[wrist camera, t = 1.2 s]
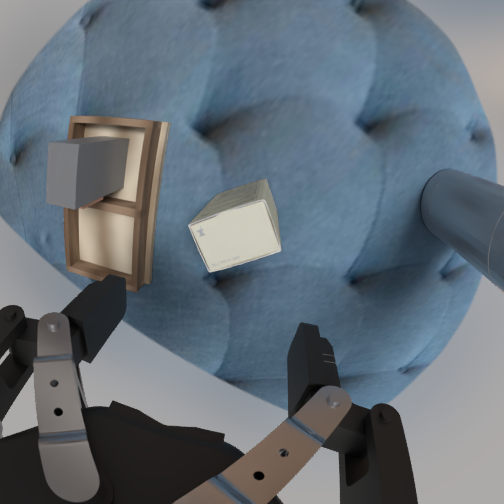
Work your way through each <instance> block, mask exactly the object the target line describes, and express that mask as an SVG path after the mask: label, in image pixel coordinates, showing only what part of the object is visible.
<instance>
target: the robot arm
mask: <svg viewBox="0 0 504 504" xmlns="http://www.w3.org/2000/svg"><path fill="white" fill-rule="evenodd" d="M421 214H422V218H423V221H424V224H425V225H426V227H427V229H428V230H429V231H430V232H431V233H432V234H434V235H435V236H436V237H438V238H439V239H440V240H442V241H443V242H444V243H445V244H447V245H448V246H449V247H450V248H452V249H453V250H454V251H455V252H457V253H458V254H459V255H460V256H462V257H463V258H464V259H465V260H466V261H468V262H469V263H470V264H471V265H472V266H474V267H475V268H476V269H477V270H478V271H479V272H481V273H482V274H483V275H484V276H485V277H486V278H488V279H489V280H490V281H491V282H492V283H493V284H494V285H495V286H497V287H498V288H499V289H500V290H501V291H502V292H503V293H504V186H502V185H499V184H497V183H494V182H491V181H488V180H485V179H482V178H479V177H476V176H473V175H470V174H467V173H464V172H461V171H457V170H453V169H445V170H442V171H439V172H438V173H436V174H435V175H434V176H433V177H432V178H431V179H430V180H429V182H428V183H427V185H426V187H425V189H424V192H423V195H422V199H421ZM125 311H126V279H125V278H124V277H121V276H117V275H114V274H111V273H110V274H108V275H107V276H106V277H105V278H104V279H103V280H102V281H96V282H94V283H91V284H89V285H88V286H87V287H86V288H85V289H84V290H83V291H82V292H81V293H80V294H79V295H78V296H77V297H76V298H75V299H73V301H71V302H70V303H69V305H67V307H66V308H64V309H63V311H61V313H57V312H53V313H48V314H45V315H44V316H42V317H41V318H40V320H37V319H31V318H26V317H25V314H24V311H23V309H22V308H21V307H19V306H17V305H9V306H6V307H4V308H2V309H1V310H0V359H1V357H2V356H3V355H4V353H5V352H6V351H7V350H8V349H9V352H10V353H9V355H8V356H7V357H6V359H5V360H4V361H3V363H2V364H1V365H0V504H283V503H282V502H281V500H280V499H279V498H278V496H277V494H278V493H279V492H280V491H281V490H282V489H283V488H284V487H285V486H286V485H287V483H289V482H290V480H291V479H292V478H293V477H294V476H295V475H296V474H297V473H298V472H299V471H300V470H301V469H302V468H303V467H304V466H305V465H306V463H307V462H308V461H309V460H310V459H311V458H312V457H313V456H314V454H315V453H316V452H317V451H318V450H319V448H320V447H321V446H322V447H324V448H327V449H330V450H333V451H336V452H339V473H340V504H418V501H417V494H416V488H415V482H414V477H413V471H412V466H411V461H410V456H409V452H408V447H407V443H406V438H405V434H404V430H403V425H402V422H401V418H400V415H399V413H398V412H397V410H396V409H394V408H393V407H392V406H390V405H388V404H383V403H380V404H376V405H374V406H373V407H372V409H371V410H370V409H367V408H364V407H361V406H358V405H356V404H353V403H352V401H351V398H350V396H349V395H348V393H347V392H346V391H344V390H343V389H341V387H340V381H339V376H338V372H337V367H336V364H335V357H334V352H333V348H332V346H331V344H330V343H329V341H328V340H327V339H326V338H322V337H320V334H319V329H318V326H317V325H313V324H308V323H302V322H301V323H300V325H299V327H298V329H297V332H296V334H295V337H294V339H293V341H292V344H291V346H290V349H289V353H288V358H287V366H288V418H287V419H286V420H285V421H283V422H282V423H281V424H280V425H279V426H278V427H277V428H276V429H275V430H273V431H272V432H271V433H270V434H269V435H268V436H267V437H265V438H264V439H263V440H262V441H261V442H260V443H258V444H257V445H256V446H255V447H254V448H252V449H251V450H250V451H249V452H247V453H246V454H244V453H242V452H241V451H240V450H239V449H237V448H236V447H234V446H232V445H231V444H229V443H226V442H224V436H225V434H223V433H219V432H214V431H209V430H205V429H201V428H197V427H180V426H167V425H163V424H161V423H159V422H158V421H156V420H154V419H153V418H151V417H149V416H147V415H146V414H144V413H142V412H141V411H139V410H137V409H134V408H131V407H129V406H126V405H123V404H121V403H118V402H115V401H112V403H111V405H110V406H109V407H103V406H95V407H88V405H87V402H86V398H85V393H84V389H83V384H82V379H81V373H80V368H79V363H80V362H81V361H82V360H84V361H86V362H88V363H91V362H92V361H93V359H94V358H95V356H96V355H97V353H98V352H99V350H100V349H101V348H102V346H103V345H104V343H105V342H106V340H107V339H108V337H109V336H110V335H111V333H112V332H113V331H114V329H115V328H116V327H117V325H118V324H119V322H120V321H121V320H122V318H123V317H124V314H125ZM33 372H34V387H35V388H34V389H35V402H36V411H37V420H38V426H36V427H33V428H30V429H28V430H25V431H22V432H19V433H16V434H13V435H10V436H7V437H2V429H3V427H2V423H1V422H2V420H3V419H4V417H5V415H6V414H7V412H8V410H9V409H10V407H11V405H12V404H13V402H14V401H15V399H16V397H17V396H18V394H19V393H20V391H21V390H22V388H23V387H24V385H25V384H26V382H27V381H28V379H29V377H30V376H31V375H32V373H33Z"/></svg>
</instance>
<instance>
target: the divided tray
mask: <svg viewBox="0 0 504 504" xmlns="http://www.w3.org/2000/svg"><path fill="white" fill-rule="evenodd" d="M170 125H171V123H170V122H161V121H153V120H143V119H132V118H119V117H102V116H70V123H69V131H68V139H67V140H69V139H77V138H86V137H95V136H110V137H120V138H129V139H130V140H129V147H128V154H127V162H126V170H125V179H124V188H122V189H119V190H117V191H115V192H112V193H110V194H108V195H106V196H103V200H101V201H99V202H97V203H95V204H92V205H90V206H88V207H86V208H84V209H80V208H78V209H76V210H74V209H70V208H65V207H64V239H65V255H66V267H67V271H70V272H73V273H76V274H79V275H82V276H85V277H88V278H91V279H94V280H97V281H102V280H103V279H104V278H105V277H106V276H107V275H108V274H110V273H111V274H114V275H117V276H121V277H124V278H125V279H126V290H129V291H132V292H136V293H137V292H138V291H139V290H140V288H141V287H142V286H143V284H148V285H149V284H150V283H151V281H152V266H153V252H154V240H155V229H156V219H157V210H158V202H159V194H160V186H161V179H162V172H163V166H164V159H165V153H166V147H167V142H168V136H169V131H170Z"/></svg>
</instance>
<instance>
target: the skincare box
mask: <svg viewBox="0 0 504 504" xmlns="http://www.w3.org/2000/svg"><path fill="white" fill-rule="evenodd" d="M188 226H189V229H190V231H191V234H192V236H193V238H194V241H195V243H196V246H197V248H198V250H199V252H200V255H201V257H202V259H203V261H204V263H205V265H206V267H207V269H208V271H209V272H214V271H218V270H223V269H226V268H230V267H233V266H236V265H240V264H243V263H246V262H250V261H253V260H256V259H259V258H262V257H265V256H268V255H272V254H274V253H277V252H280V251H281V242H280V232H279V224H278V213H277V209H276V206H275V203H274V199H273V196H272V193H271V190H270V187H269V185H268V182H267V180H266V179H261V180H258V181H255V182H251V183H248V184H245V185H242V186H239V187H236V188H233V189H230V190H228V191H225V192H222V193H220V194H217V195H216V196H215V197H214V198H213V199H212V200H211V201H210V202H209V203H208V204H207V205H206V206H205V208H204V209H203V210H202V211H201V212H200V213H199V214H198V215H197V216H196V217H195V218H194V219H193V220H192V222H191V223H190V224H189V225H188Z"/></svg>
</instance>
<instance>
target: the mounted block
mask: <svg viewBox="0 0 504 504" xmlns="http://www.w3.org/2000/svg"><path fill="white" fill-rule="evenodd" d="M129 140H130V139H129V138H120V137H110V136H95V137H86V138H77V139H69V140H61V141H54V142H49V149H48V163H47V203H48V204H52V205H56V206H61V207H65V208H70V209H74V210H76V209H78V208H80V209H84V208H86V207H88V206H90V205H92V204H95V203H97V202H99V201H101V200H103V196H106V195H108V194H110V193H112V192H115V191H117V190H119V189H122V188H124V179H125V170H126V162H127V154H128V147H129Z"/></svg>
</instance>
